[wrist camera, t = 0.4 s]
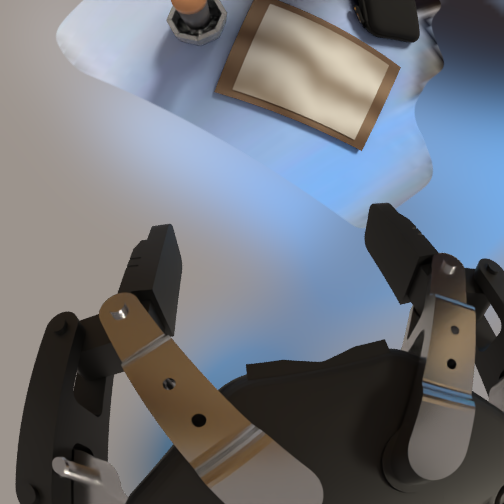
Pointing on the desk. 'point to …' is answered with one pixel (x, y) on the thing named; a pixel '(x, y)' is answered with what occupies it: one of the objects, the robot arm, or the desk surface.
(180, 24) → the pen cup
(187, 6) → the marker
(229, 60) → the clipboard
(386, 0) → the carrying case or bag
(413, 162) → the desk surface
